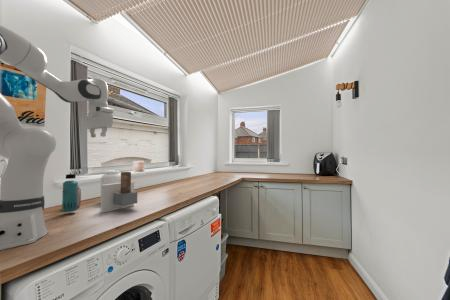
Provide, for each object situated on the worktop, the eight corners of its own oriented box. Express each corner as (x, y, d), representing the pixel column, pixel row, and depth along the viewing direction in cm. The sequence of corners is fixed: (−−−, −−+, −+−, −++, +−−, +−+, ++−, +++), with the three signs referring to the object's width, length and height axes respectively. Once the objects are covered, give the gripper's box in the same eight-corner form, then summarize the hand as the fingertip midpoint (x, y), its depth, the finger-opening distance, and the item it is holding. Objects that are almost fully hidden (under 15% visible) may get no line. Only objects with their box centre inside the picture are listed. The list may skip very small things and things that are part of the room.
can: (96, 202, 134) (97, 170, 134) (116, 199, 144) (116, 169, 145) (106, 205, 127) (107, 171, 127) (126, 201, 137) (126, 170, 138)
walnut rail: (124, 202, 112) (124, 172, 113) (120, 201, 114) (120, 172, 115) (130, 201, 115) (131, 171, 116) (126, 200, 117) (127, 171, 118)
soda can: (72, 210, 115) (72, 187, 115) (61, 209, 116) (62, 187, 116) (83, 207, 121) (84, 186, 122) (73, 206, 123) (73, 185, 123)
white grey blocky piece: (113, 215, 105) (114, 186, 105) (100, 211, 111) (101, 184, 111) (144, 207, 120) (144, 182, 121) (131, 205, 126) (131, 181, 127)
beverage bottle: (70, 211, 112) (71, 173, 112) (80, 212, 110) (81, 173, 111) (58, 214, 105) (59, 174, 106) (69, 215, 104) (70, 174, 105)
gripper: (81, 111, 114) (81, 137, 113) (102, 106, 103) (102, 135, 103) (94, 113, 119) (93, 138, 119) (115, 109, 108) (115, 136, 108)
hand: (98, 136), depth 110 cm, fingers open, 8 cm apart
